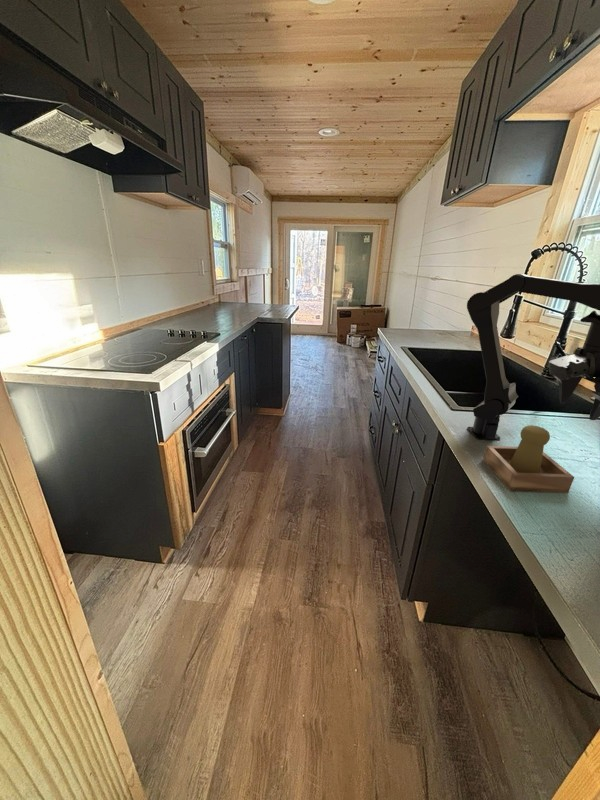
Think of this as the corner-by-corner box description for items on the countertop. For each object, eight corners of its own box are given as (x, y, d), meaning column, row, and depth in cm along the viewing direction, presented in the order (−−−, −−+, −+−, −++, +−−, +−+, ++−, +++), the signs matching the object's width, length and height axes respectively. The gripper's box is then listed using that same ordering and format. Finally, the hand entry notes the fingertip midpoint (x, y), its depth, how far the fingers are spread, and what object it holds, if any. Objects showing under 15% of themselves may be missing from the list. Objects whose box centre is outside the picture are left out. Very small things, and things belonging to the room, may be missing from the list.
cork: (510, 460, 78) (522, 419, 74) (540, 470, 75) (555, 427, 70) (505, 471, 74) (518, 428, 70) (537, 482, 70) (553, 437, 66)
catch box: (483, 459, 80) (486, 445, 79) (533, 461, 80) (537, 447, 78) (510, 491, 69) (515, 475, 68) (568, 492, 69) (574, 477, 67)
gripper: (535, 335, 79) (518, 395, 85) (597, 355, 62) (570, 429, 68) (582, 336, 79) (562, 396, 85) (658, 357, 61) (625, 430, 67)
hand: (576, 411), depth 76 cm, fingers open, 9 cm apart
